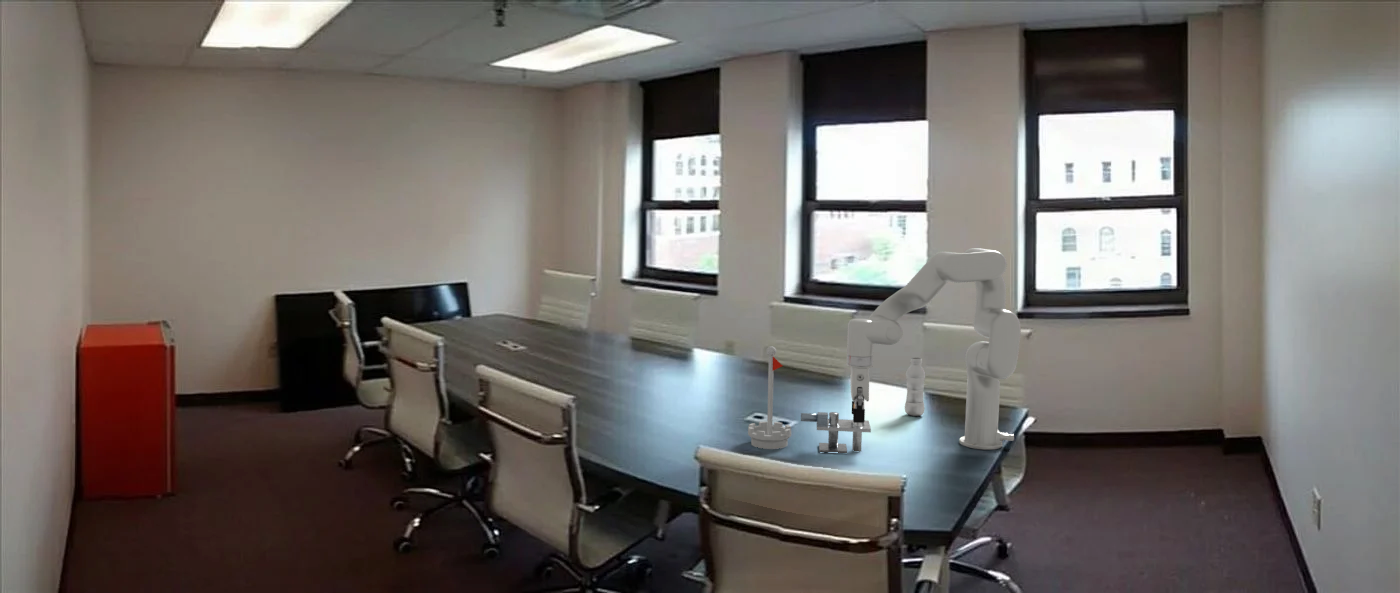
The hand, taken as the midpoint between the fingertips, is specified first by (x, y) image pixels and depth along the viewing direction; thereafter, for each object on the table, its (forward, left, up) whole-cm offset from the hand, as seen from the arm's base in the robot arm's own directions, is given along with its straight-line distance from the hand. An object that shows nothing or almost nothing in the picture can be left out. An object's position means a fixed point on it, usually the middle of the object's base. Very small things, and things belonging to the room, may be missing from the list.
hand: (857, 418), depth 263 cm
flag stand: (+26, -3, -10) cm, 28 cm away
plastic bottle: (-22, -47, -10) cm, 53 cm away
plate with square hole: (+7, 0, -10) cm, 12 cm away
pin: (0, 0, -10) cm, 10 cm away
